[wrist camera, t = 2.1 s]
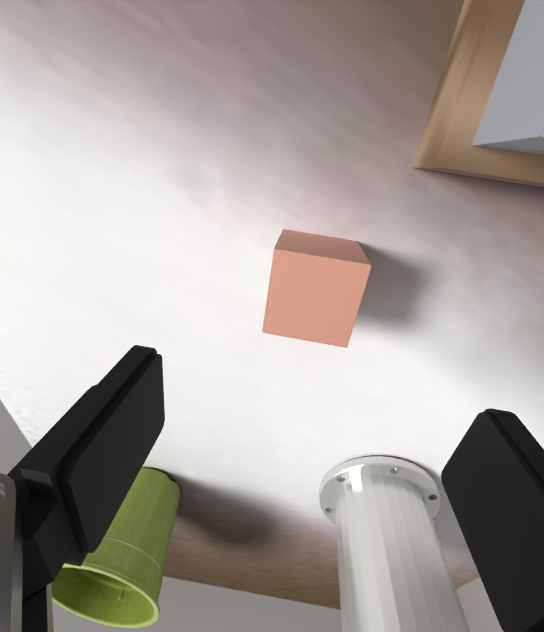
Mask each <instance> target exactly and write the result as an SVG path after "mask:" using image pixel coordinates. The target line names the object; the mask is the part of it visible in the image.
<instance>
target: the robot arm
mask: <svg viewBox="0 0 544 632" xmlns="http://www.w3.org/2000/svg"><path fill="white" fill-rule="evenodd" d="M164 421H165V413H164V391H163V369H162V356H161V355H160V354H157V351H156V349H154V348H150V347H144V346H138V345H135V346H133V347H132V348H131V349H130V350H129V351H128V352H127V353H126V354H125V355H124V357H123V358H122V359H121V360H120V361H119V362H118V363H117V364H116V365H115V366H114V367H113V368H112V369H111V370H110V372H109V373H108V374H107V375H106V376H105V377H104V378H103V379H102V380H101V381H100V382H99V383H98V384H97V385H95V386H92V387H91V388H90V389H89V390H87V391H86V393H85V394H84V395H83V396H82V397H81V398H80V399H79V400H78V401H77V402H76V403H75V404H74V405H73V406H72V407H71V408H70V409H69V410H68V411H67V412H66V414H65V415H64V416H63V417H62V418H61V419H60V420H59V421H58V422H57V423H56V424H55V425H54V426H53V427H52V428H51V429H50V430H49V431H48V432H47V433H46V435H45V436H44V437H43V438H42V439H41V440H40V441H39V442H38V443H37V444H36V445H35V446H34V447H33V448H32V449H31V450H30V451H29V452H28V453H27V454H26V456H25V457H24V458H23V459H22V460H21V461H20V462H19V463H18V464H17V465H16V466H15V467H14V468H13V469H12V470H11V471H10V472H9V473H8V474H7V475H5V474H2V473H0V632H53V611H52V587H51V582H53V581H54V580H55V578H56V577H57V575H58V573H59V572H60V570H61V568H62V567H63V565H64V563H65V564H70V565H75V566H80V567H81V565H82V563H83V561H84V559H85V558H86V556H87V554H88V553H94V552H95V551H96V550H97V548H98V547H99V545H100V544H101V542H102V540H103V538H104V536H105V534H106V532H107V531H108V529H109V527H110V525H111V523H112V521H113V520H114V518H115V516H116V514H117V512H118V510H119V508H120V507H121V505H122V503H123V501H124V499H125V497H126V495H127V494H128V492H129V490H130V488H131V486H132V484H133V483H134V481H135V479H136V477H137V475H138V473H139V471H140V470H141V468H142V466H143V464H144V462H145V460H146V459H147V457H148V455H149V453H150V451H151V449H152V447H153V446H154V444H155V442H156V440H157V438H158V436H159V434H160V433H161V431H162V428H163V425H164ZM441 479H442V484H443V486H444V489H445V491H446V494H447V496H448V499H449V501H450V503H451V506H452V508H453V511H454V513H455V516H456V518H457V521H458V523H459V526H460V528H461V530H462V533H463V535H464V538H465V540H466V543H467V545H468V548H469V550H470V553H471V555H472V557H473V560H474V562H475V565H476V567H477V570H478V572H479V575H480V577H481V579H482V582H483V584H484V587H485V589H486V592H487V594H488V597H489V599H490V601H491V604H492V606H493V609H494V611H495V614H496V616H497V619H498V621H499V624H500V626H501V628H502V630H503V631H504V632H544V449H543V448H542V447H541V446H540V444H539V443H538V442H537V441H536V439H535V438H534V437H533V436H532V434H531V433H530V432H529V431H528V429H527V428H526V427H525V426H524V424H523V423H522V422H521V421H520V420H519V418H518V417H517V416H516V415H515V414H514V413H512V412H508V411H502V410H496V409H486V410H485V411H484V412H481V413H479V414H478V415H477V417H476V418H475V420H474V421H473V423H472V425H471V426H470V428H469V429H468V431H467V432H466V434H465V436H464V437H463V439H462V440H461V442H460V443H459V445H458V447H457V448H456V450H455V451H454V453H453V454H452V456H451V458H450V459H449V461H448V462H447V464H446V465H445V467H444V469H443V471H442V474H441ZM319 496H320V505H321V509H322V510H323V512H324V514H325V515H326V516H327V517H328V518H329V520H330V521H332V522H333V523H334V524H335V528H336V543H337V559H338V574H339V589H340V604H341V619H342V632H470V629H469V626H468V623H467V621H466V618H465V615H464V612H463V609H462V606H461V603H460V600H459V597H458V595H457V591H456V588H455V585H454V583H453V580H452V577H451V574H450V571H449V568H448V565H447V562H446V559H445V556H444V553H443V550H442V547H441V545H440V542H439V539H438V536H437V533H436V530H435V527H434V524H433V521H432V520H433V519H434V518H435V517H436V516H437V514H438V512H439V510H440V506H441V497H440V493H439V490H438V488H437V485H436V483H435V481H434V480H433V478H432V477H431V476H430V475H429V474H428V473H427V472H426V471H425V470H424V469H422V468H420V467H418V466H417V465H415V464H413V463H410V462H408V461H405V460H402V459H397V458H393V457H384V456H369V457H362V458H356V459H353V460H350V461H347V462H344V463H342V464H340V465H338V466H337V467H335V468H334V469H332V470H331V471H330V472H329V473H328V474H327V475H326V476H325V477H324V479H323V481H322V483H321V485H320V491H319Z"/></svg>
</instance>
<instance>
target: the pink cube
mask: <svg viewBox="0 0 544 632" xmlns="http://www.w3.org/2000/svg"><path fill="white" fill-rule="evenodd" d="M371 266H372V265H371V263H370V261H369V260H368V258H367V256H366V255H365V253H364V251H363V250H362V248H361V246H360V245H359V243H358V242H357V241H352V240H346V239H340V238H334V237H327V236H321V235H315V234H309V233H303V232H297V231H291V230H285V229H283V231H282V233H281V235H280V237H279V239H278V242H277V244H276V246H275V248H274V254H273V261H272V268H271V275H270V282H269V289H268V296H267V303H266V310H265V317H264V324H263V331H262V333H268V334H274V335H279V336H285V337H290V338H296V339H301V340H307V341H312V342H318V343H323V344H329V345H335V346H340V347H346V348H347V347H348V343H349V340H350V337H351V333H352V330H353V326H354V323H355V320H356V316H357V313H358V310H359V306H360V303H361V300H362V296H363V293H364V290H365V286H366V283H367V280H368V276H369V273H370V270H371Z"/></svg>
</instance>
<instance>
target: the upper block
mask: <svg viewBox="0 0 544 632" xmlns="http://www.w3.org/2000/svg"><path fill="white" fill-rule="evenodd" d="M472 146H477V147H485V148H493V149H500V150H508V151H516V152H523V153H531V154H539V155H544V0H525V2H524V4H523V7H522V10H521V13H520V15H519V18H518V21H517V23H516V26H515V29H514V32H513V34H512V37H511V40H510V43H509V45H508V48H507V51H506V53H505V56H504V59H503V62H502V64H501V67H500V70H499V72H498V75H497V78H496V81H495V83H494V86H493V89H492V91H491V94H490V97H489V100H488V102H487V105H486V108H485V111H484V113H483V116H482V119H481V121H480V124H479V127H478V130H477V132H476V135H475V138H474V140H473V143H472Z"/></svg>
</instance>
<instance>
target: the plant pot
mask: <svg viewBox="0 0 544 632" xmlns="http://www.w3.org/2000/svg"><path fill="white" fill-rule="evenodd" d="M180 495H181V492H180V488H179V486H178V485H177V483H176V482H173V481H171V480H170V479H169V478H168V476H167V475H166V474H164V473H162V472H160V471H158V470H154V469H149V468H141V470H140V471H139V473H138V475H137V477H136V479H135V481H134V483H133V484H132V486H131V488H130V490H129V492H128V494H127V495H126V497H125V499H124V501H123V503H122V505H121V507H120V508H119V510H118V512H117V514H116V516H115V518H114V520H113V521H112V523H111V525H110V527H109V529H108V531H107V532H106V534H105V536H104V538H103V540H102V542H101V544H100V545H99V547H98V548H97V550H96V551H95V552H94V553H88V554H87V556H86V558H85V559H84V561H83V563H82V565H81V567H80V566H75V565H70V564H65V563H64V565H63V567H62V568H61V570H60V572H59V573H58V575H57V577H56V578H55V580H54V581H53V582H51V587H52V601H54V602H55V603H57V604H58V605H60V606H61V607H62V608H64V609H66V610H68V611H70V612H72V613H74V614H76V615H78V616H81V617H83V618H85V619H88V620H92V621H95V622H98V623H101V624H105V625H109V626H114V627H121V628H140V627H146V626H149V625H152V624H153V623H154V622H155V621H157V619H158V617H159V614H160V609H159V605H158V598H159V593H160V588H161V584H162V572H163V567H164V563H165V558H166V554H167V550H168V546H169V542H170V538H171V533H172V529H173V525H174V521H175V517H176V513H177V508H178V504H179V500H180Z"/></svg>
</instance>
